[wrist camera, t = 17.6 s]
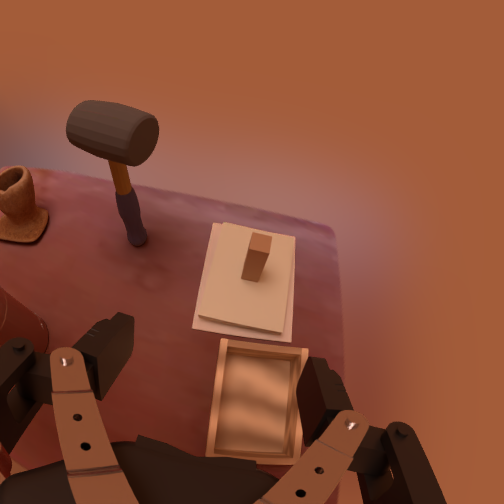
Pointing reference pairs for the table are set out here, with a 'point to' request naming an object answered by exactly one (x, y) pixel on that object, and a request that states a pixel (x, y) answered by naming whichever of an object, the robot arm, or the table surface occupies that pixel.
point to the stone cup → (20, 207)
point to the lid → (249, 279)
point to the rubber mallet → (117, 149)
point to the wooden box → (256, 403)
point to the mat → (231, 329)
